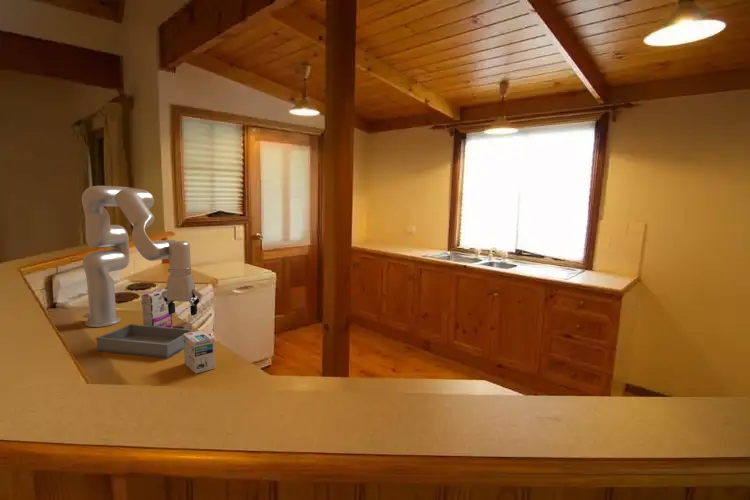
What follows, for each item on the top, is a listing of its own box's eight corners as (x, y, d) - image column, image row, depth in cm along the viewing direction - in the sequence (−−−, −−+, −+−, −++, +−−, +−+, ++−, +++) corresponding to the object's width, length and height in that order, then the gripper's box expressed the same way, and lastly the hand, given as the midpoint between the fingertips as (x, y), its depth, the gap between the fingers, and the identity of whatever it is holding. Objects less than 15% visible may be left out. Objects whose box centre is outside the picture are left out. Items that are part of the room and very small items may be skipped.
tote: (97, 351, 141) (96, 338, 140) (131, 336, 156) (130, 324, 156) (167, 358, 137) (167, 344, 136) (195, 342, 152) (195, 329, 152)
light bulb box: (215, 368, 130) (215, 337, 129) (195, 374, 126) (194, 342, 124) (203, 358, 138) (202, 329, 136) (183, 363, 133) (182, 333, 132)
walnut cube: (172, 337, 156) (172, 325, 156) (180, 333, 161) (180, 321, 161) (184, 338, 156) (183, 326, 155) (191, 334, 161) (191, 322, 160)
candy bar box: (162, 325, 170) (161, 288, 168) (172, 326, 169) (171, 289, 167) (142, 333, 160) (140, 294, 157) (153, 334, 159) (151, 295, 156)
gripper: (154, 273, 153) (157, 315, 155) (194, 274, 150) (197, 317, 152) (167, 269, 160) (169, 310, 162) (206, 271, 157) (208, 312, 160)
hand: (182, 314), depth 157 cm, fingers open, 9 cm apart
